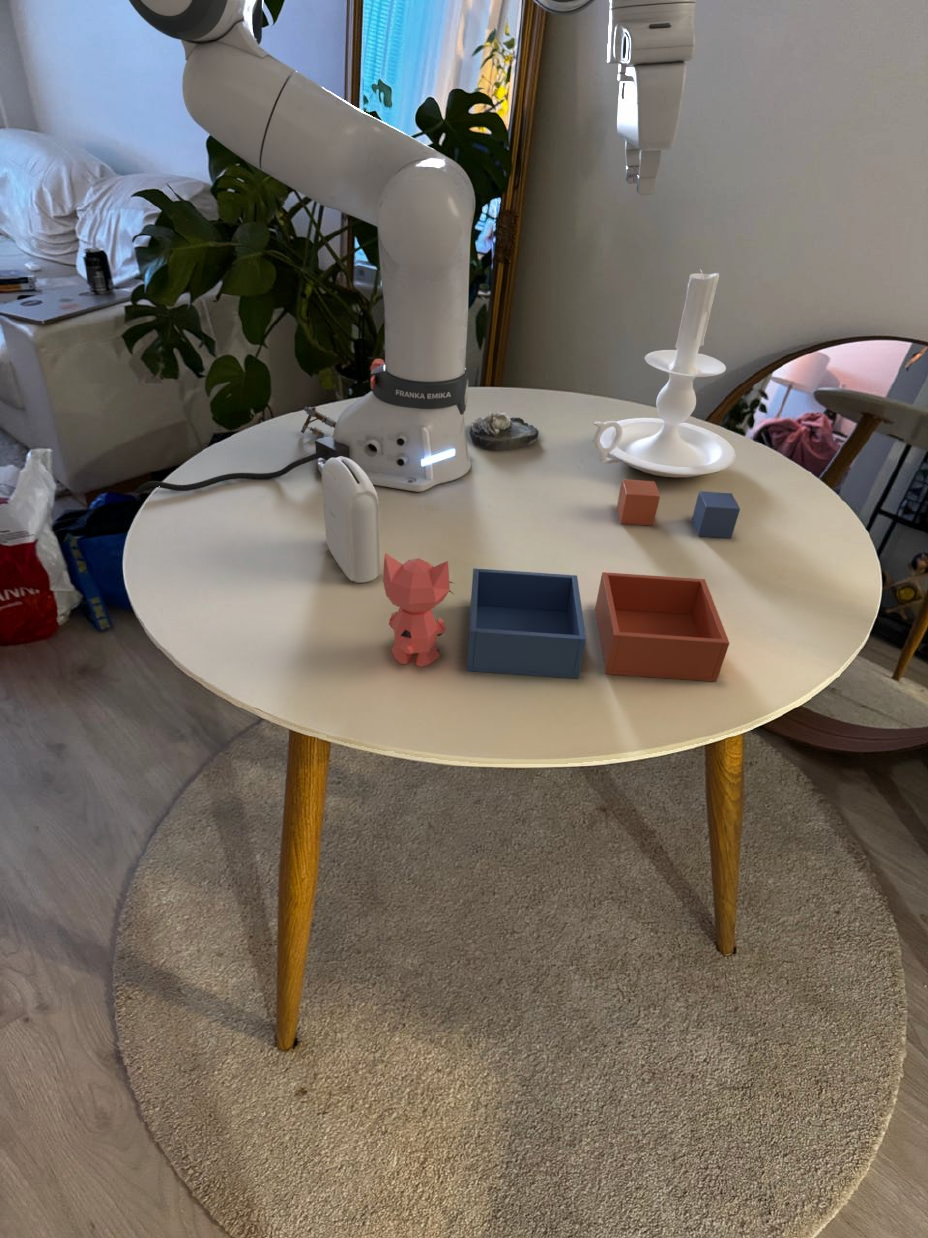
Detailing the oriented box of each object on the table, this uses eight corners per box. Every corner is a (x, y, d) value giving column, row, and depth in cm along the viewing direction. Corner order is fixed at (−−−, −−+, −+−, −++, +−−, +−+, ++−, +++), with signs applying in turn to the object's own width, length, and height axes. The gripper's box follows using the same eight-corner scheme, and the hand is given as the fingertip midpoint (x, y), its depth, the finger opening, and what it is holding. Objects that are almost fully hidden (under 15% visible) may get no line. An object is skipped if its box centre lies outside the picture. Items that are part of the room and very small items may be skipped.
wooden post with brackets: (296, 427, 119) (307, 401, 116) (344, 449, 121) (355, 424, 118) (294, 430, 117) (305, 404, 115) (342, 453, 119) (353, 428, 117)
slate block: (698, 536, 99) (706, 506, 97) (691, 519, 103) (699, 490, 100) (731, 538, 99) (740, 508, 97) (723, 522, 103) (732, 493, 100)
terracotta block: (620, 523, 101) (626, 493, 98) (616, 507, 105) (622, 478, 102) (653, 525, 101) (660, 496, 98) (648, 509, 105) (654, 481, 102)
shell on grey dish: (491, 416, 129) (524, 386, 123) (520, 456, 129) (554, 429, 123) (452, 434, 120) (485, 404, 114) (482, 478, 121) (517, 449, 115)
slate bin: (466, 671, 75) (469, 631, 72) (470, 605, 84) (473, 567, 81) (578, 678, 75) (586, 639, 72) (570, 612, 84) (577, 575, 81)
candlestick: (548, 450, 119) (573, 257, 102) (670, 428, 129) (711, 249, 112) (628, 509, 104) (672, 296, 88) (759, 479, 114) (821, 282, 97)
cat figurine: (454, 641, 79) (460, 542, 72) (442, 684, 73) (447, 581, 66) (388, 631, 80) (387, 533, 72) (371, 673, 74) (368, 571, 67)
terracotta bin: (605, 674, 76) (614, 635, 73) (594, 609, 85) (602, 571, 82) (716, 681, 76) (729, 643, 73) (694, 615, 85) (705, 579, 82)
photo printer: (322, 543, 93) (315, 449, 85) (355, 537, 95) (351, 444, 87) (349, 587, 86) (345, 489, 78) (385, 580, 87) (383, 482, 80)
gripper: (608, 44, 89) (602, 178, 98) (633, 41, 73) (623, 203, 81) (662, 40, 89) (651, 175, 97) (699, 37, 73) (682, 199, 81)
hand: (639, 188), depth 89 cm, fingers open, 8 cm apart
